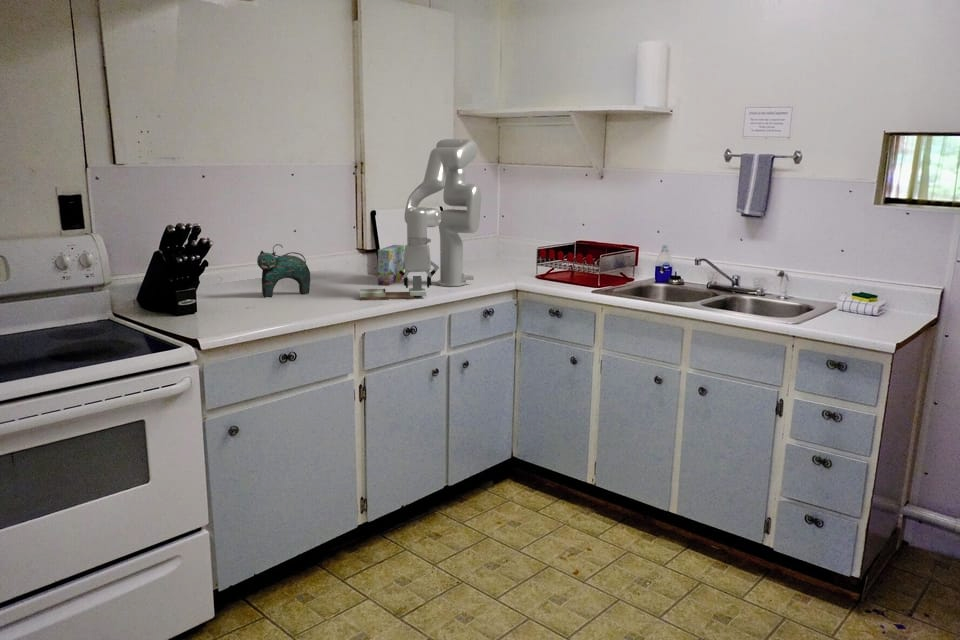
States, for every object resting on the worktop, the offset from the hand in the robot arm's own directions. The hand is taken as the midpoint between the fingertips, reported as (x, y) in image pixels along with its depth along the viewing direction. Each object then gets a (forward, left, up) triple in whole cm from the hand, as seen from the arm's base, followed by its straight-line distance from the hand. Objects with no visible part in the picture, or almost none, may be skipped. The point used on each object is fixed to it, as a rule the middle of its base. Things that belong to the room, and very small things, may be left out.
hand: (417, 287), depth 281 cm
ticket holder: (+12, 0, -4) cm, 12 cm away
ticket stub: (0, 0, -3) cm, 3 cm away
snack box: (+9, -37, -4) cm, 38 cm away
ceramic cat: (+51, -8, -4) cm, 52 cm away
